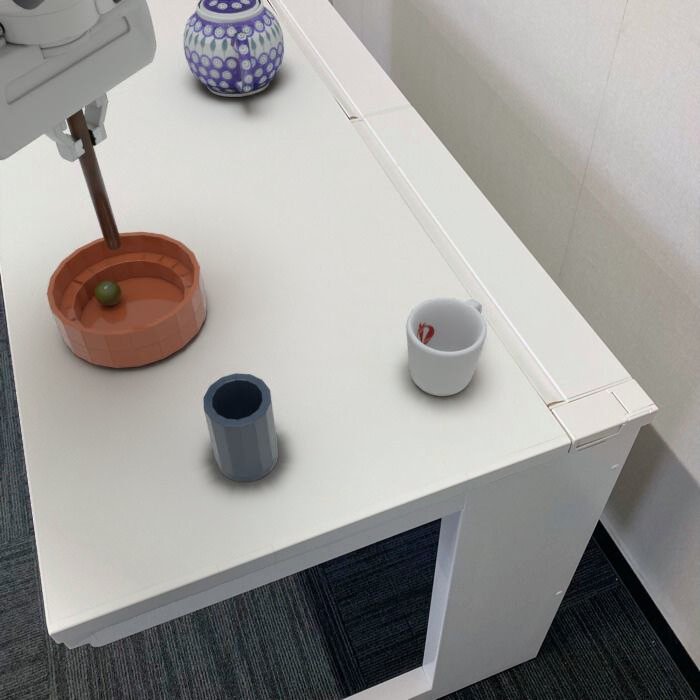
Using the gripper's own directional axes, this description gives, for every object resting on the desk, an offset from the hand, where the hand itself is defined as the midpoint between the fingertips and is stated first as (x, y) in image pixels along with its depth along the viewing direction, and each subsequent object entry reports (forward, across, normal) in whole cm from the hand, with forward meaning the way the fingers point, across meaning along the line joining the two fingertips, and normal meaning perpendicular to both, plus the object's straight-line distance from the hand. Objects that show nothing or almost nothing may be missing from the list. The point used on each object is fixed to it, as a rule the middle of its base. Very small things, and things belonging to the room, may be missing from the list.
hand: (84, 148), depth 71 cm
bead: (+20, 0, +4) cm, 21 cm away
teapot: (+23, +49, +21) cm, 58 cm away
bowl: (+22, 0, 0) cm, 23 cm away
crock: (+22, -9, -22) cm, 33 cm away
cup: (+23, +11, -34) cm, 42 cm away
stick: (+12, 0, 0) cm, 12 cm away
